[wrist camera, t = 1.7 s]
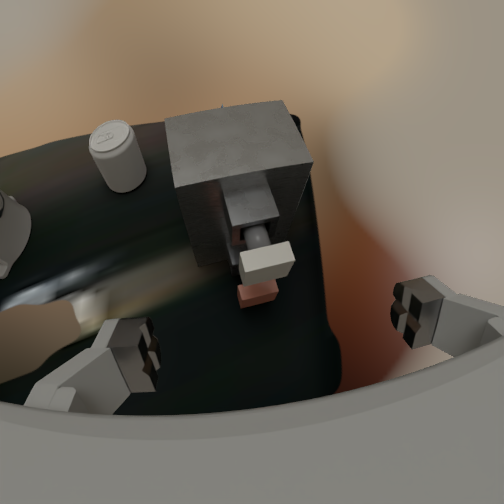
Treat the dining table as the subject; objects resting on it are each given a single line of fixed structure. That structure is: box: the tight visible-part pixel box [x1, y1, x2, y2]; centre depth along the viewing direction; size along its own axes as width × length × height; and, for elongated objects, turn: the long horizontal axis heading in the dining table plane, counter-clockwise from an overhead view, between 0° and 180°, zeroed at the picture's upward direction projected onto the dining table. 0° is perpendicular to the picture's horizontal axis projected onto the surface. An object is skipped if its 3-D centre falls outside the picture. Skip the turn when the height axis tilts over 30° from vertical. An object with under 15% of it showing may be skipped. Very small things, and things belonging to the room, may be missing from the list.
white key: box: [239, 223, 295, 287], centre depth 32 cm, size 5×6×5 cm
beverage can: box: [89, 120, 146, 193], centre depth 49 cm, size 8×8×12 cm
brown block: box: [237, 279, 279, 308], centre depth 42 cm, size 5×6×5 cm
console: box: [165, 100, 313, 277], centre depth 40 cm, size 14×14×22 cm
